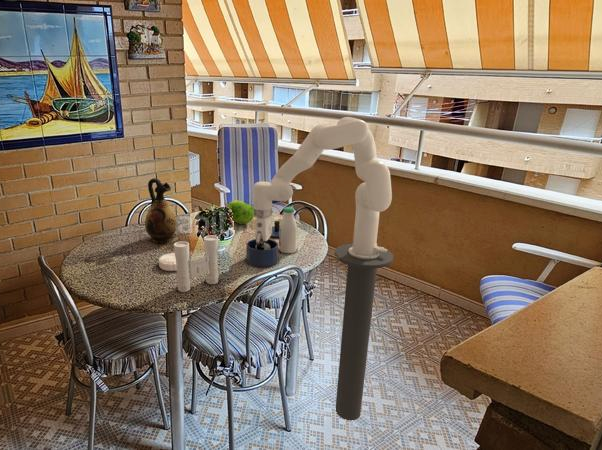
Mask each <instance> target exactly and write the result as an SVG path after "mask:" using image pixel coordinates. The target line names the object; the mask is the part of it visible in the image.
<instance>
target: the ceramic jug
mask: <svg viewBox="0 0 602 450" xmlns="http://www.w3.org/2000/svg"><path fill="white" fill-rule="evenodd" d="M153 184H155V185H156V187H155V188H153ZM147 187H148V192H149V197H150V199H151V200H150V201H151V202H150V207H149V209H148V211H147V213H146V216H145V220H144V227H145V231H146V233H147V234H148V236H149V237H150V238H151V240H152V239H153V240H152V242H154V243H157V244H163V243H164V244H165V243H169V242H171V240H172V238H173V236H174V235H175V233H176V231H177V228H178V221H177V217H176V214H175V212H174V210H173V208H172V207H171V205H170V204H169V203H168V201H167V200H166V198H165V196H164V194H165V193H167V192H169V191H171V190H172V187H171V186H170V184H169V183H168V182H165V183H162V182H161V180H160V179H158V178H156V177H154V178H150V179H149V180H148V182H147ZM155 193H156V194H155Z"/></svg>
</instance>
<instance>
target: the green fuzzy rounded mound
mask: <svg viewBox="0 0 602 450" xmlns="http://www.w3.org/2000/svg"><path fill="white" fill-rule="evenodd" d="M227 207H229V208H230V209H231V210H232V213H233V218H232V220H233V221H232V220H231V221H232V222H234V223H237V224H238V225H239V224H240V225H246V224H249V223H250V222H251V221H253V219H254V218H255V217H254V206H252V205H251V204H249V203H247V202H245V201H243V200H237V199H235V200H232V201H230V202H229V203H227V204H226V208H227Z"/></svg>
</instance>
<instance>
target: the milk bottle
mask: <svg viewBox="0 0 602 450" xmlns="http://www.w3.org/2000/svg"><path fill="white" fill-rule="evenodd" d="M282 210H283V216H282V219H281V220H280V229H279V237H278V251H279V252H281V253H283V254H293V253H295V252H296V251H297V239H298V225H297V221H296V218H295V215H294V214H295V207H293V206H284V207H283V209H282Z"/></svg>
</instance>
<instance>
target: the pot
mask: <svg viewBox="0 0 602 450" xmlns="http://www.w3.org/2000/svg"><path fill="white" fill-rule="evenodd" d="M260 240H262V239H260ZM268 241H269V245H270V248H271V249H268V250H257V249H256V248H255V246H256V244H257V243H256V239H255V238H254V239H250V240H248V241H247V242H246V244H245V245H246V247H245V248H246V249H245V252H246V253H245V255H246V256H245V257H246V263H247V264H248V265H250V266H253V267H257V268H269V267H273V266H275V265H277V264H278V261H279V242H278V241H275V240H273V239H270V238H269V240H268ZM260 242H261V241H260Z"/></svg>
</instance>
